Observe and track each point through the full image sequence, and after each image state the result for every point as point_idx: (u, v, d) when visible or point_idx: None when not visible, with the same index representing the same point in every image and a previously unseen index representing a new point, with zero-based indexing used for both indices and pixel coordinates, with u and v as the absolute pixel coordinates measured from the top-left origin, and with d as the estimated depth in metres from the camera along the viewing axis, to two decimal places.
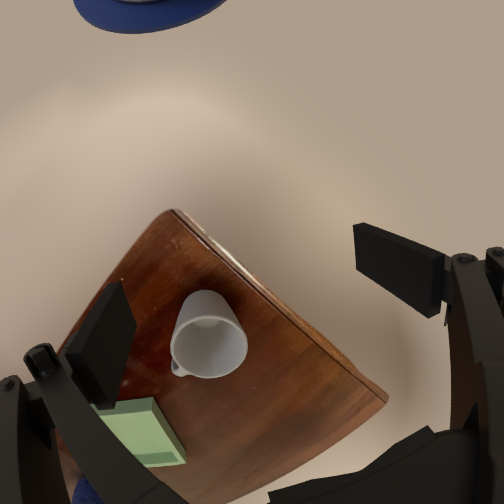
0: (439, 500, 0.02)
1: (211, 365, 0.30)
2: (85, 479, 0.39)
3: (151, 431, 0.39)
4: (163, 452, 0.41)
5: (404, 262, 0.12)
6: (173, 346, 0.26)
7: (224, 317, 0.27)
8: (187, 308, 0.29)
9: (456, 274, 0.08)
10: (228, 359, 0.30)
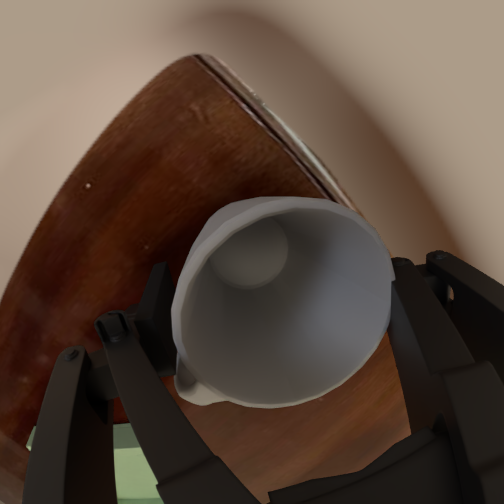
0: (439, 500, 0.02)
1: (283, 371, 0.11)
2: None
3: (145, 472, 0.22)
4: None
5: None
6: (180, 315, 0.08)
7: (351, 210, 0.08)
8: (221, 213, 0.11)
9: None
10: (326, 351, 0.11)
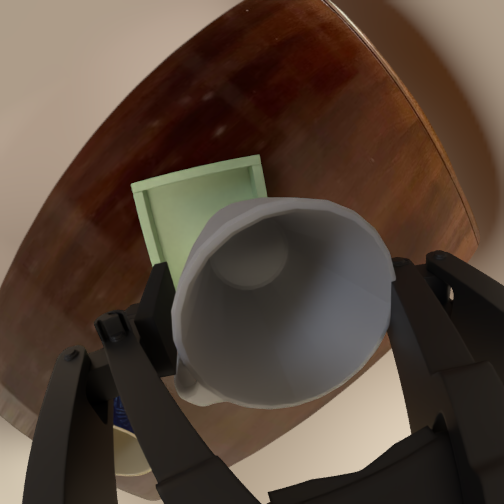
0: (439, 500, 0.02)
1: (283, 372, 0.11)
2: None
3: None
4: None
5: None
6: (180, 316, 0.08)
7: (351, 211, 0.08)
8: (221, 213, 0.11)
9: None
10: (327, 352, 0.11)
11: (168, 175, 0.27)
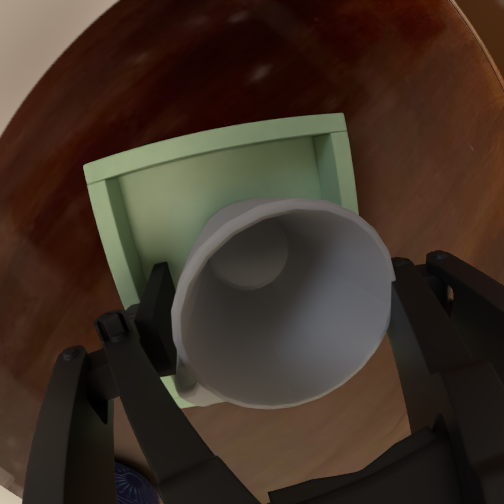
0: (439, 500, 0.02)
1: (283, 372, 0.11)
2: None
3: None
4: None
5: None
6: (180, 317, 0.08)
7: (351, 211, 0.08)
8: (221, 214, 0.11)
9: None
10: (326, 353, 0.11)
11: (160, 145, 0.12)
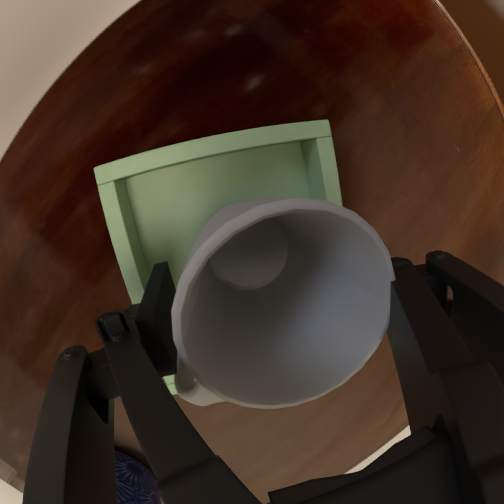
0: (439, 500, 0.02)
1: (283, 372, 0.11)
2: None
3: None
4: None
5: None
6: (180, 316, 0.08)
7: (351, 211, 0.08)
8: (221, 213, 0.11)
9: None
10: (326, 352, 0.11)
11: (163, 150, 0.14)
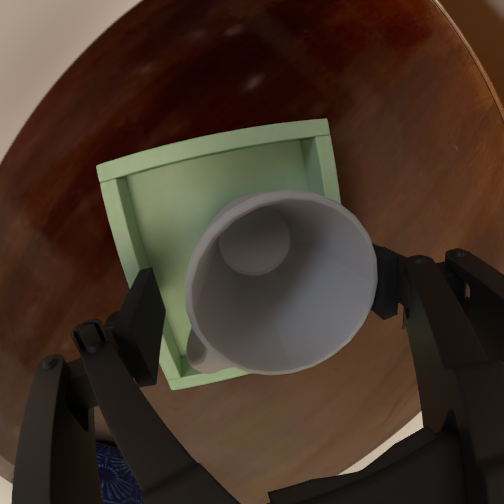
0: (439, 500, 0.02)
1: (281, 344, 0.13)
2: None
3: None
4: None
5: None
6: (191, 287, 0.10)
7: (333, 200, 0.10)
8: (227, 205, 0.13)
9: (412, 277, 0.09)
10: (320, 327, 0.13)
11: (164, 148, 0.14)
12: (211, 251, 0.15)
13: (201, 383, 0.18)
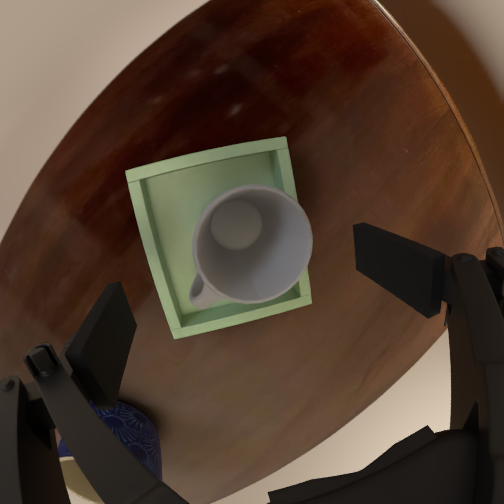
0: (439, 500, 0.02)
1: (253, 287, 0.20)
2: None
3: None
4: None
5: (405, 262, 0.12)
6: (196, 241, 0.17)
7: (279, 189, 0.17)
8: None
9: (456, 274, 0.08)
10: (279, 275, 0.20)
11: (172, 160, 0.21)
12: (206, 228, 0.22)
13: (196, 333, 0.25)
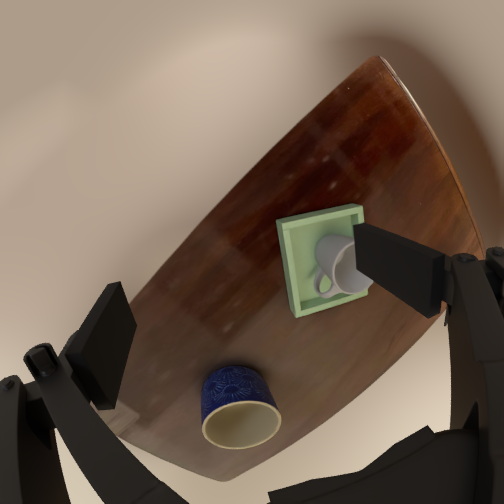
0: (439, 500, 0.02)
1: (350, 286, 0.40)
2: (222, 369, 0.46)
3: None
4: None
5: (404, 262, 0.12)
6: (335, 266, 0.36)
7: None
8: (335, 241, 0.39)
9: (456, 274, 0.08)
10: (362, 280, 0.40)
11: (307, 218, 0.40)
12: None
13: (308, 313, 0.45)
